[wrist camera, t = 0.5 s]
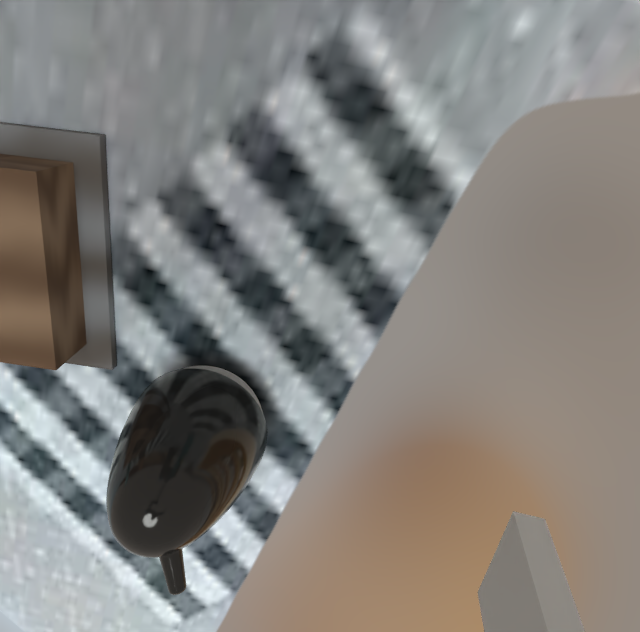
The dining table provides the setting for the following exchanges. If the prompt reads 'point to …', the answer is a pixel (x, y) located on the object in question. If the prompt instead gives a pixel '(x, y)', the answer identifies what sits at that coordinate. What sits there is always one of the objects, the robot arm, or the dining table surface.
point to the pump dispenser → (183, 463)
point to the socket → (55, 249)
